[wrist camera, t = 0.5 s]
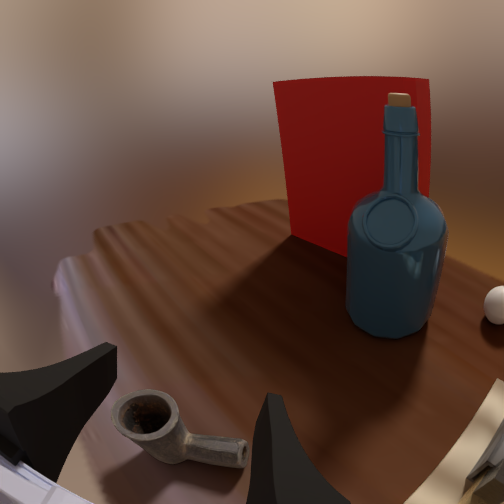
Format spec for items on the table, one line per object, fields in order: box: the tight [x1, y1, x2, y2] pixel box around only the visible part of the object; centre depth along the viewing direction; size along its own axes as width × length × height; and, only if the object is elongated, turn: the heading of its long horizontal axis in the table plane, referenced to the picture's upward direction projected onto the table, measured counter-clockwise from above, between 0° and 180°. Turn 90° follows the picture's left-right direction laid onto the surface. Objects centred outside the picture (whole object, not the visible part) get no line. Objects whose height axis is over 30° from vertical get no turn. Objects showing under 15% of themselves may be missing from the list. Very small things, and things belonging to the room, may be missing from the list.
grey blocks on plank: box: [403, 378, 504, 504], centre depth 14 cm, size 31×12×6 cm, turn 124°
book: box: [273, 76, 431, 257], centre depth 51 cm, size 27×8×32 cm, turn 38°
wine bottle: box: [345, 93, 448, 339], centre depth 35 cm, size 14×13×30 cm
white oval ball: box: [484, 286, 504, 324], centre depth 34 cm, size 8×6×6 cm
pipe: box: [111, 389, 249, 468], centre depth 26 cm, size 6×13×8 cm, turn 80°
